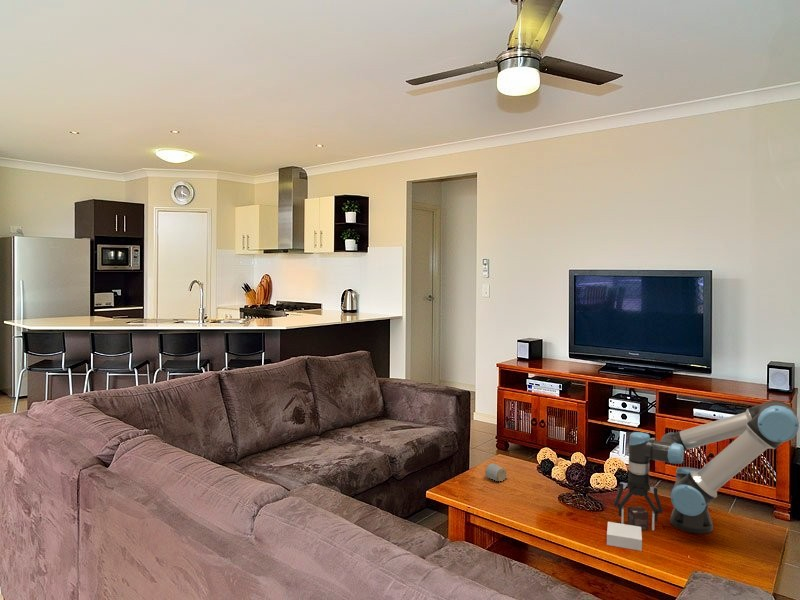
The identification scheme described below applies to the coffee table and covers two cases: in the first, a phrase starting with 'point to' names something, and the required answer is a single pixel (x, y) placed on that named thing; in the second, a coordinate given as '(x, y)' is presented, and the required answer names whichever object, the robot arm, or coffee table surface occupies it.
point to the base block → (624, 536)
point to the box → (638, 517)
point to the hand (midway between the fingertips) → (637, 526)
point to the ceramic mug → (495, 472)
